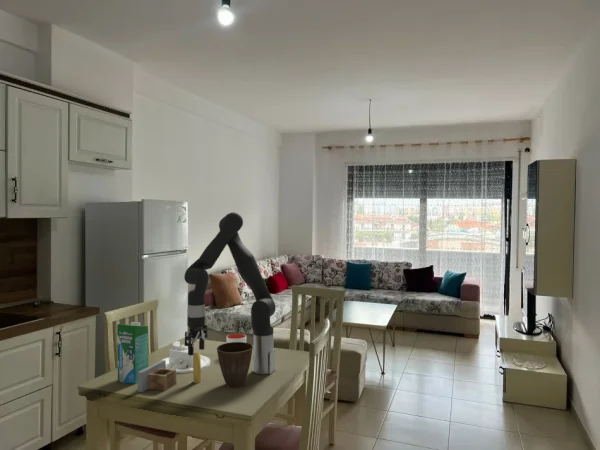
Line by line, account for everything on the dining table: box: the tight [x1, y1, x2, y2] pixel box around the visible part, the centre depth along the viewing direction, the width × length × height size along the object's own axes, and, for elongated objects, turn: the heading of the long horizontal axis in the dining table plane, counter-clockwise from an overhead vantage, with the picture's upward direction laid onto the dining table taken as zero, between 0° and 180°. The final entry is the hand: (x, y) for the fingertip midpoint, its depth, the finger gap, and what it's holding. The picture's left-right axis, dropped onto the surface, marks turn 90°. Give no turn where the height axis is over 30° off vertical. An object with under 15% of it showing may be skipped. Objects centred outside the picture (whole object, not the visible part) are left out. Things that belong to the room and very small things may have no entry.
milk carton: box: [116, 321, 149, 385], centre depth 196 cm, size 9×9×25 cm
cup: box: [226, 333, 247, 343], centre depth 229 cm, size 10×10×10 cm
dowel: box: [192, 352, 202, 384], centre depth 193 cm, size 3×3×12 cm
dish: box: [161, 340, 211, 374], centre depth 216 cm, size 25×25×11 cm
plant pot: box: [216, 342, 253, 389], centre depth 189 cm, size 15×15×16 cm
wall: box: [137, 359, 166, 393], centre depth 189 cm, size 2×16×8 cm, turn 162°
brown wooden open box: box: [147, 368, 177, 392], centre depth 188 cm, size 8×8×6 cm
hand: (196, 352), depth 193 cm, fingers open, 8 cm apart
